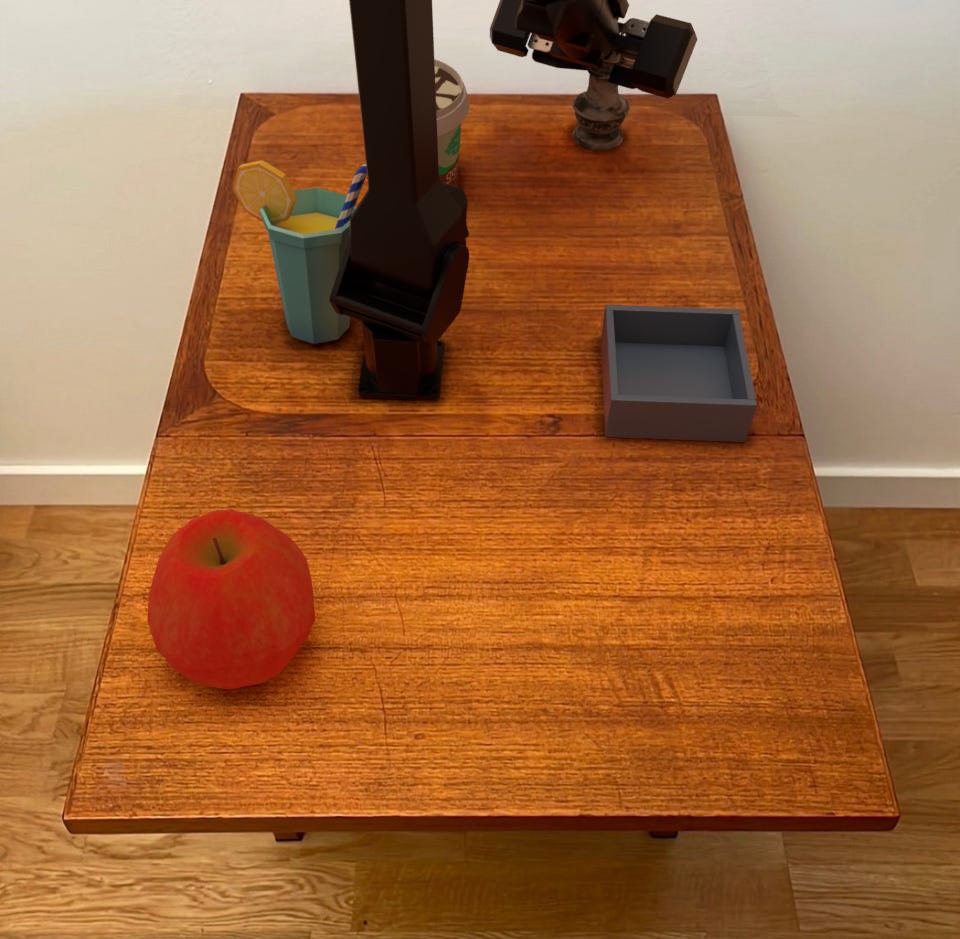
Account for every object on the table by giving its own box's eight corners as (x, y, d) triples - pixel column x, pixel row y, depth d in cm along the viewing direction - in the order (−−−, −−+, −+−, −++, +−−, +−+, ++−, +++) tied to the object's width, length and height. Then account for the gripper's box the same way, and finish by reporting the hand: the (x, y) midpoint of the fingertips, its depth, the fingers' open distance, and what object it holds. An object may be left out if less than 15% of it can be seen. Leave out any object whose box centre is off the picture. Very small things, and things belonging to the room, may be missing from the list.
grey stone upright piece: (637, 135, 104) (653, 21, 94) (603, 158, 101) (616, 43, 92) (592, 115, 106) (604, 2, 97) (558, 137, 103) (566, 23, 94)
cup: (414, 304, 87) (416, 140, 76) (408, 357, 81) (409, 188, 71) (253, 295, 86) (233, 129, 76) (236, 348, 81) (212, 177, 70)
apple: (350, 659, 64) (333, 565, 56) (198, 737, 60) (156, 649, 52) (283, 547, 69) (259, 448, 61) (140, 613, 66) (95, 517, 58)
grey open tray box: (745, 442, 76) (757, 405, 73) (605, 437, 76) (611, 399, 73) (728, 347, 83) (739, 309, 80) (600, 342, 83) (605, 304, 80)
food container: (467, 219, 94) (467, 122, 86) (402, 218, 94) (396, 121, 86) (471, 147, 102) (471, 52, 94) (411, 146, 102) (406, 51, 94)
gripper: (709, -69, 81) (730, 12, 95) (507, -114, 86) (556, -31, 101) (657, 66, 82) (685, 126, 97) (462, 12, 88) (516, 76, 103)
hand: (610, 70), depth 99 cm, fingers open, 4 cm apart
